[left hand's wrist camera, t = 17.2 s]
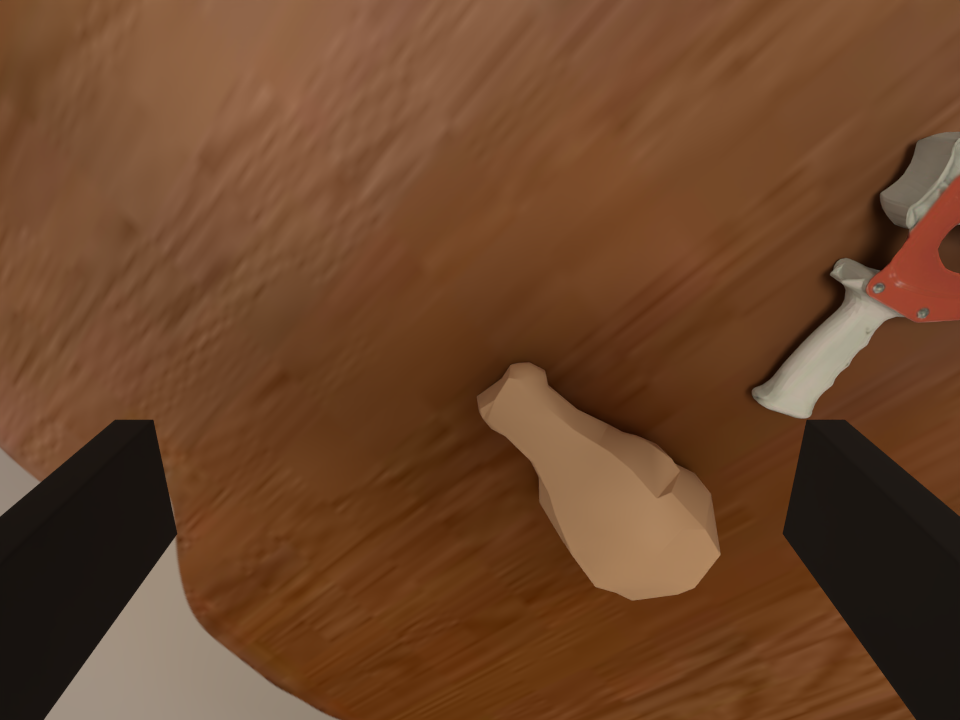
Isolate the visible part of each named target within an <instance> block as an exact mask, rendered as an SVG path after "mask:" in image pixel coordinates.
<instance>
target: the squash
mask: <svg viewBox="0 0 960 720" xmlns="http://www.w3.org/2000/svg"><path fill="white" fill-rule="evenodd" d="M477 402H478V409H479V413H480V415H481V416H482V418H483V419H484V421H485V422H486V423H487V424H488V425H489V427H490V428H491V429H492V430H494V431H496V432H498V433H500V434H502V435H504V436H506V437H507V438H508V439H509V440H510V441H511V442H512V443H513V444H514V445H515V446H516V447H517V448H518V449H519V450H520V451H521V452H522V453H523V454H524V455H525V456H526V457H527V458H528V459H529V460H530V461H531V463H532V465H533V467H534V469H535V471H536V473H537V475H538V477H539V502H540V504H541V506H542V507H543V509H544V511H545V512H546V514H547V516H548V517H549V519H550V521H551V522H552V524H553V526H554V528H555V529H556V531H557V533H558V534H559V536H560V538H561V539H562V541H563V542H564V544H565V545H566V547H567V548H568V550H569V551H570V553H571V554H572V556H573V557H574V558H575V560H576V561H577V562H578V564H579V565H580V567H581V568H582V569H583V571H584V572H585V573H586V575H587V576H588V577H589V579H590V580H591V581H592V583H593V584H594V585H595V587H598V588H601V589H605V590H608V591H612V592H615V593H618V594H620V595H622V596H624V597H626V598H628V599H630V600H640V599H647V598H654V597H662V596H669V595H676V594H680V593H682V592H685V591H688V590H690V589H693V588H695V587H696V585H697V584H698V583H699V581H700V580H701V579H702V578H703V576H704V575H705V574H706V573H707V571H708V570H709V569H710V567H711V566H712V565H713V564H714V562H715V561H716V560H717V559H718V557H719V556H720V548H719V542H718V536H717V529H716V523H715V517H714V511H713V504H712V498H711V493H710V492H709V491H708V490H707V488H706V487H705V486H704V485H703V483H702V482H701V481H700V480H699V478H698V477H697V476H696V474H695V473H693V472H691V471H689V470H687V469H685V468H683V467H681V466H679V465H677V464H675V463H674V462H673V460H672V459H671V458H670V457H669V456H668V455H667V454H666V453H665V452H664V451H663V450H662V449H661V448H660V447H659V446H658V445H657V444H656V443H653V442H651V441H649V440H646V439H644V438H642V437H639V436H637V435H633V434H629V433H625V432H622V431H620V430H618V429H616V428H614V427H613V426H611V425H609V424H607V423H605V422H602V421H600V420H598V419H596V418H594V417H592V416H590V415H588V414H586V413H584V412H582V411H580V410H578V409H576V408H575V407H574V406H573V405H572V404H570V403H569V402H568V401H567V400H566V399H564V398H563V397H562V396H561V395H560V394H558V393H557V392H556V391H555V390H554V389H552V388H551V387H550V386H549V385H548V382H547V377H546V373H545V370H544V369H542V368H540V367H538V366H536V365H534V364H532V363H530V362H523V363H516V364H511V365H510V366H509V368H508V369H507V371H506V373H505V374H504V376H503V377H502V378H501V379H500V380H499V381H497V382H496V383H495V384H493V385H492V386H490V387H489V388H488V389H486V390H485V391H484V392H482V393H481V394H479V395H478V396H477Z"/></svg>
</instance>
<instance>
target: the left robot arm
mask: <svg viewBox="0 0 960 720" xmlns="http://www.w3.org/2000/svg"><path fill="white" fill-rule="evenodd" d="M176 535H177V530H176V526H175V521H174V516H173V511H172V507H171V502H170V497H169V492H168V488H167V483H166V478H165V473H164V469H163V464H162V459H161V454H160V449H159V445H158V440H157V435H156V430H155V426H154V421H153V420H114V421H113V422H112V423H111V424H110V425H108V426H107V427H106V428H105V429H104V430H102V431H101V432H100V433H99V434H98V435H97V436H95V437H94V438H93V439H92V440H91V441H89V442H88V443H87V444H86V445H85V446H83V447H82V448H81V449H80V450H79V451H78V452H76V453H75V454H74V455H73V456H72V457H70V458H69V459H68V460H67V461H66V462H64V463H63V464H62V465H61V466H60V467H59V468H57V469H56V470H55V471H54V472H53V473H51V474H50V475H49V476H48V477H47V478H46V479H44V480H43V481H42V482H41V483H40V484H38V485H37V486H36V487H35V488H34V489H33V490H31V491H30V492H29V493H28V494H27V495H25V496H24V497H23V498H22V499H21V500H19V501H18V502H17V503H16V504H15V505H13V506H12V507H11V508H10V509H9V510H8V511H6V512H5V513H4V514H3V515H2V516H0V720H44V719H45V717H46V716H47V714H48V713H49V712H50V710H51V709H52V707H53V706H54V705H55V703H56V702H57V701H58V699H59V698H60V696H61V695H62V694H63V692H64V691H65V689H66V688H67V687H68V685H69V684H70V682H71V681H72V680H73V678H74V677H75V675H76V674H77V673H78V671H79V670H80V669H81V667H82V666H83V664H84V663H85V661H86V660H87V659H88V657H89V656H90V655H91V653H92V652H93V650H94V649H95V648H96V646H97V645H98V643H99V642H100V641H101V639H102V638H103V636H104V635H105V634H106V632H107V631H108V630H109V628H110V627H111V625H112V624H113V623H114V621H115V620H116V618H117V617H118V616H119V614H120V613H121V611H122V610H123V609H124V607H125V606H126V605H127V603H128V602H129V600H130V599H131V598H132V596H133V595H134V593H135V592H136V591H137V589H138V588H139V586H140V585H141V584H142V582H143V581H144V579H145V578H146V577H147V575H148V574H149V572H150V571H151V570H152V568H153V567H154V566H155V564H156V563H157V561H158V560H159V559H160V557H161V556H162V554H163V553H164V552H165V550H166V549H167V547H168V546H169V545H170V543H171V542H172V540H173V539H174V538H175V536H176ZM783 535H784V536H785V538H786V539H787V540H788V542H789V543H790V545H791V546H792V547H793V549H794V550H795V552H796V553H797V554H798V556H799V557H800V559H801V560H802V561H803V563H804V564H805V566H806V567H807V568H808V570H809V571H810V573H811V574H812V575H813V577H814V578H815V579H816V581H817V582H818V584H819V585H820V586H821V588H822V589H823V591H824V592H825V593H826V595H827V596H828V598H829V599H830V600H831V602H832V603H833V605H834V606H835V607H836V609H837V610H838V611H839V613H840V614H841V616H842V617H843V618H844V620H845V621H846V623H847V624H848V625H849V627H850V628H851V630H852V631H853V632H854V634H855V635H856V637H857V638H858V639H859V641H860V642H861V643H862V645H863V646H864V648H865V649H866V650H867V652H868V653H869V655H870V656H871V657H872V659H873V660H874V662H875V663H876V664H877V666H878V667H879V669H880V670H881V671H882V673H883V674H884V676H885V677H886V678H887V680H888V681H889V682H890V684H891V685H892V687H893V688H894V689H895V691H896V692H897V694H898V695H899V696H900V698H901V699H902V701H903V702H904V703H905V705H906V706H907V708H908V709H909V710H910V712H911V713H912V714H913V716H914V717H915V719H916V720H960V516H958V515H957V514H956V513H955V512H954V511H952V510H951V509H950V508H949V507H948V506H947V505H945V504H944V503H943V502H942V501H941V500H939V499H938V498H937V497H936V496H935V495H933V494H932V493H931V492H930V491H929V490H928V489H926V488H925V487H924V486H923V485H922V484H920V483H919V482H918V481H917V480H916V479H914V478H913V477H912V476H911V475H910V474H909V473H907V472H906V471H905V470H904V469H903V468H901V467H900V466H899V465H898V464H897V463H895V462H894V461H893V460H892V459H891V458H890V457H888V456H887V455H886V454H885V453H884V452H882V451H881V450H880V449H879V448H878V447H877V446H875V445H874V444H873V443H872V442H871V441H869V440H868V439H867V438H866V437H865V436H863V435H862V434H861V433H860V432H859V431H858V430H856V429H855V428H854V427H853V426H852V425H850V424H849V423H848V422H847V421H846V420H807V421H806V426H805V430H804V435H803V440H802V445H801V449H800V454H799V459H798V464H797V468H796V473H795V478H794V483H793V488H792V492H791V497H790V502H789V507H788V511H787V516H786V521H785V526H784V530H783Z"/></svg>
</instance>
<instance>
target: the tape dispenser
mask: <svg viewBox="0 0 960 720" xmlns="http://www.w3.org/2000/svg"><path fill="white" fill-rule="evenodd" d="M880 202H881V205H882V208H883V210H884V212H885V213H886V215H887V216H888V218H889V219H890V220H891V221H892V222H893V223H894V224H895V225H898V226H900V227H903V228H907V229H909V232H908V237H907V239H906V242H905V243H904V245H903V246H902V248H901V249H900V250H899V251H898V253H897V254H896V255H895V256H894V258H893V259H892V261H891V262H890V263H889V264H888V265H886V267H885V268H884V269H883V270H881V271H880V270H876V269H872V268H868V267H866V266H864V265H862V264H860V263H858V262H856V261H854V260H851V259H848V258H844V259H840V260H839V261H837V262H836V264H835V266H834V269H833V271H832V272H831V273H830V276H832V277H833V278H835V279H836V280H837V281H839V282H840V283H842V284H843V285H844V287H845V289H846V292H845V299H844V301H843V303H842V305H841V306H840V307H839V309H838V310H837V311H835V312H834V313H833V314H832V315H831V316H830V317H829V318H828V319H827V320H826V321H824V322H823V323H822V324H821V325H820V326H819V327H818V328H817V329H816V330H815V331H814V332H813V333H812V334H811V335H810V336H809V337H808V338H807V339H806V340H805V341H804V342H803V343H802V344H801V345H800V346H799V347H798V348H797V349H796V350H795V351H794V352H793V353H792V354H791V355H790V357H789V358H788V359H787V360H786V361H785V362H784V363H783V365H782V366H781V367H780V368H779V370H778V371H777V372H776V373H775V374H774V376H773V377H772V378H771V379H770V380H769V381H767V382H766V383H764V384H763V385H760V386H758V387H755V388H754V389H753V390H752V396H753V398H754V399H755V400H756V401H757V402H758V403H759V404H761V405H762V406H764V407H766V408H768V409H770V410H773V411H776V412H780V413H783V414H787V415H790V416H792V417H796V418H808V417H810V416H811V414H812V410H813V407H814V405H815V403H816V401H817V400H818V398H819V397H820V396H821V394H822V393H823V392H824V391H826V390H827V389H828V388H829V387H831V386H832V385H833V383H834V380H835V378H836V377H837V376H838V374H839V373H840V372H841V371H842V370H844V369H845V368H846V367H848V366H849V364H850V362H851V360H852V358H853V357H854V356H855V355H856V354H857V353H858V352H859V350H861V349H862V348H864V347H865V346H866V345H867V344H868V342H869V340H870V338H871V336H872V335H873V333H874V332H875V330H876V329H877V328H878V327H879V326H880V325H881V324H882V323H883V322H884V321H886V320H887V319H890V318H893V317H906V318H908V319H910V320H912V321H914V322H917V323H921V322H937V321H953V320H960V274H959V273H956V272H952V271H950V270H948V269H946V268H945V267H944V265H943V264H942V262H941V259H940V257H939V253H938V248H939V245H940V243H941V241H942V240H943V239H944V238H945V236H946V235H947V234H948V232H949V231H950V230H951V229H953V228H954V227H955V226H956V225H960V132H945V133H940V134H935V135H932V136H930V137H927V138H924V139H921V140H918V142H917V144H916V148H915V152H914V156H913V158H912V161H911V163H910V165H909V167H908V168H907V170H906V171H905V173H904V174H903V175H902V176H901V178H900V179H899V180H898V181H896V182H895V183H894V184H893V185H891V186H890V187H888V188H887V189H886V190H884V191H883V192H881V194H880Z"/></svg>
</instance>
